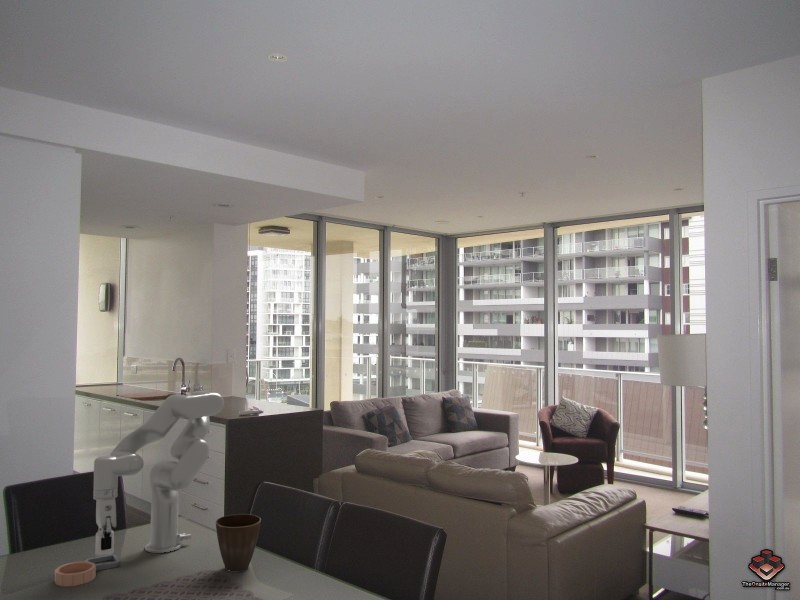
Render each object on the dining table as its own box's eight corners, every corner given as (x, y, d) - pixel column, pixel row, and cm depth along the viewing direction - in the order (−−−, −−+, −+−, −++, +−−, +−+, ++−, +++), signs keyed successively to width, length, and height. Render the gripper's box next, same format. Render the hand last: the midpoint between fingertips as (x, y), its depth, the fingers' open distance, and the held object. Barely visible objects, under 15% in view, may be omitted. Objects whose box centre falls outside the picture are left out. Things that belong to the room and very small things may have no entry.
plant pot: (265, 571, 212) (267, 522, 212) (221, 579, 204) (222, 529, 205) (251, 557, 224) (253, 511, 225) (209, 565, 217) (210, 517, 218)
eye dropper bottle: (105, 558, 213) (106, 522, 213) (92, 555, 215) (93, 520, 215) (115, 553, 217) (116, 518, 217) (103, 551, 219) (103, 516, 219)
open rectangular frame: (114, 558, 221) (114, 554, 222) (120, 566, 214) (120, 561, 215) (84, 563, 216) (84, 559, 216) (88, 571, 209) (89, 567, 209)
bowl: (91, 569, 211) (91, 559, 211) (98, 581, 201) (98, 569, 202) (52, 577, 204) (53, 566, 204) (57, 589, 195) (58, 577, 195)
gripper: (122, 496, 212) (121, 552, 211) (112, 486, 226) (111, 538, 225) (98, 500, 208) (97, 557, 207) (89, 489, 221) (88, 542, 221)
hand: (104, 546), depth 216 cm, fingers closed on eye dropper bottle, 4 cm apart
